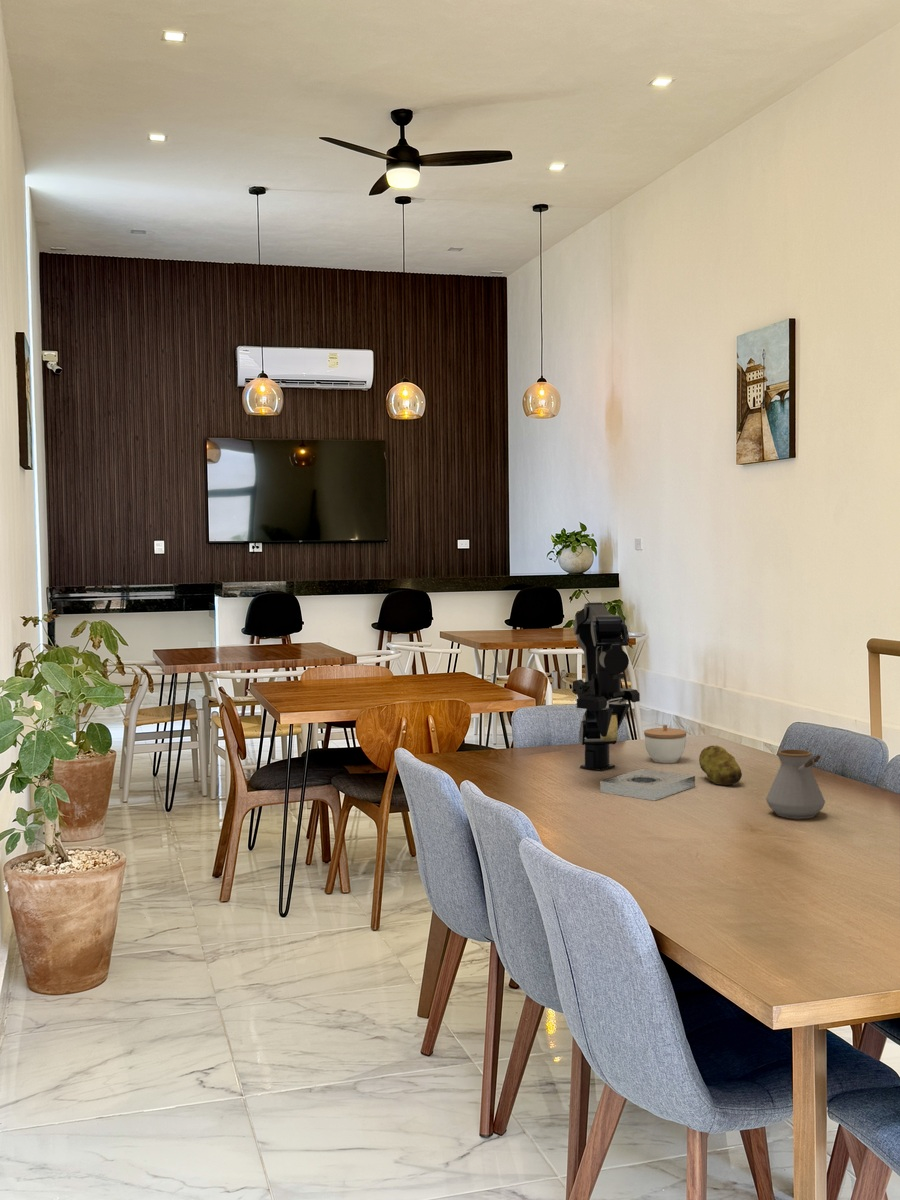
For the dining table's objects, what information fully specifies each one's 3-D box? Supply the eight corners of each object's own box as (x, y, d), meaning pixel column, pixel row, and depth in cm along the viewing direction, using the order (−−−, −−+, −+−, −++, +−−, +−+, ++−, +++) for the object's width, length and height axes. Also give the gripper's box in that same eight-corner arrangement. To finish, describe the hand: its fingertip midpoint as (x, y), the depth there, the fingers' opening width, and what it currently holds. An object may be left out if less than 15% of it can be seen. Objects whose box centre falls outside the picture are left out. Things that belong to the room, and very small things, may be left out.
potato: (707, 788, 248) (707, 753, 248) (696, 776, 261) (696, 743, 261) (744, 787, 248) (743, 753, 247) (731, 776, 261) (731, 743, 260)
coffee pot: (759, 808, 228) (759, 737, 227) (814, 807, 228) (814, 736, 227) (789, 834, 207) (789, 756, 206) (849, 833, 206) (850, 755, 206)
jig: (642, 778, 259) (642, 768, 259) (695, 786, 250) (695, 775, 250) (600, 792, 245) (600, 781, 245) (654, 800, 236) (654, 789, 236)
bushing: (606, 737, 259) (606, 712, 259) (620, 739, 256) (620, 714, 256) (597, 740, 256) (597, 714, 256) (611, 741, 253) (611, 716, 253)
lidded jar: (690, 764, 275) (690, 727, 275) (648, 765, 275) (647, 728, 275) (681, 756, 286) (681, 721, 286) (641, 757, 286) (640, 722, 286)
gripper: (601, 664, 268) (602, 727, 268) (557, 670, 254) (557, 737, 254) (640, 666, 260) (641, 731, 261) (597, 673, 246) (597, 742, 247)
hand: (608, 735), depth 256 cm, fingers closed on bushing, 4 cm apart
